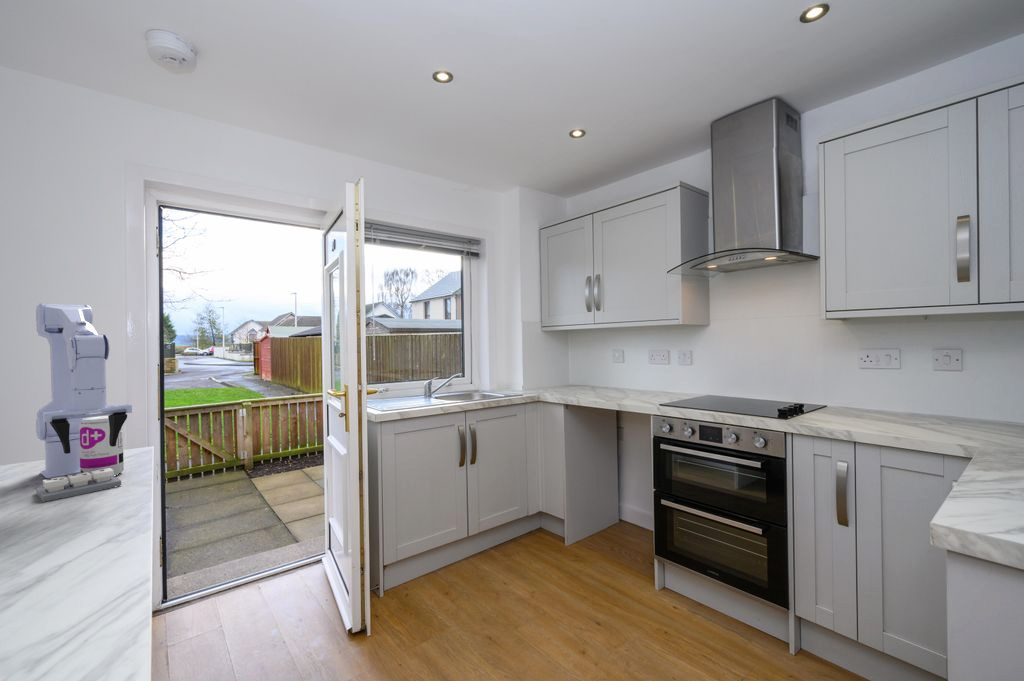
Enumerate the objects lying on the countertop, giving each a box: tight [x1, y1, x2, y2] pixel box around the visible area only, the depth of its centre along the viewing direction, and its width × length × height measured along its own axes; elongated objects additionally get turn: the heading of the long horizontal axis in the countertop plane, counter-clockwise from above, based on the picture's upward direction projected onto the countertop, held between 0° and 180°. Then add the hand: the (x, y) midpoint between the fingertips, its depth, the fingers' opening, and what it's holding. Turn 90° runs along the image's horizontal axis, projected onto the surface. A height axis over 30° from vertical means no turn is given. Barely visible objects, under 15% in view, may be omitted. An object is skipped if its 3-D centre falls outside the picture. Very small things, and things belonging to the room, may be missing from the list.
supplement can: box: [79, 415, 125, 478], centre depth 117 cm, size 8×8×15 cm
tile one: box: [91, 468, 114, 483], centre depth 109 cm, size 4×4×2 cm
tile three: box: [42, 475, 68, 492], centre depth 103 cm, size 4×4×2 cm
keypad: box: [35, 476, 122, 503], centre depth 106 cm, size 9×13×1 cm
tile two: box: [66, 472, 91, 487], centre depth 106 cm, size 4×4×2 cm
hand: (90, 449), depth 103 cm, fingers open, 7 cm apart
